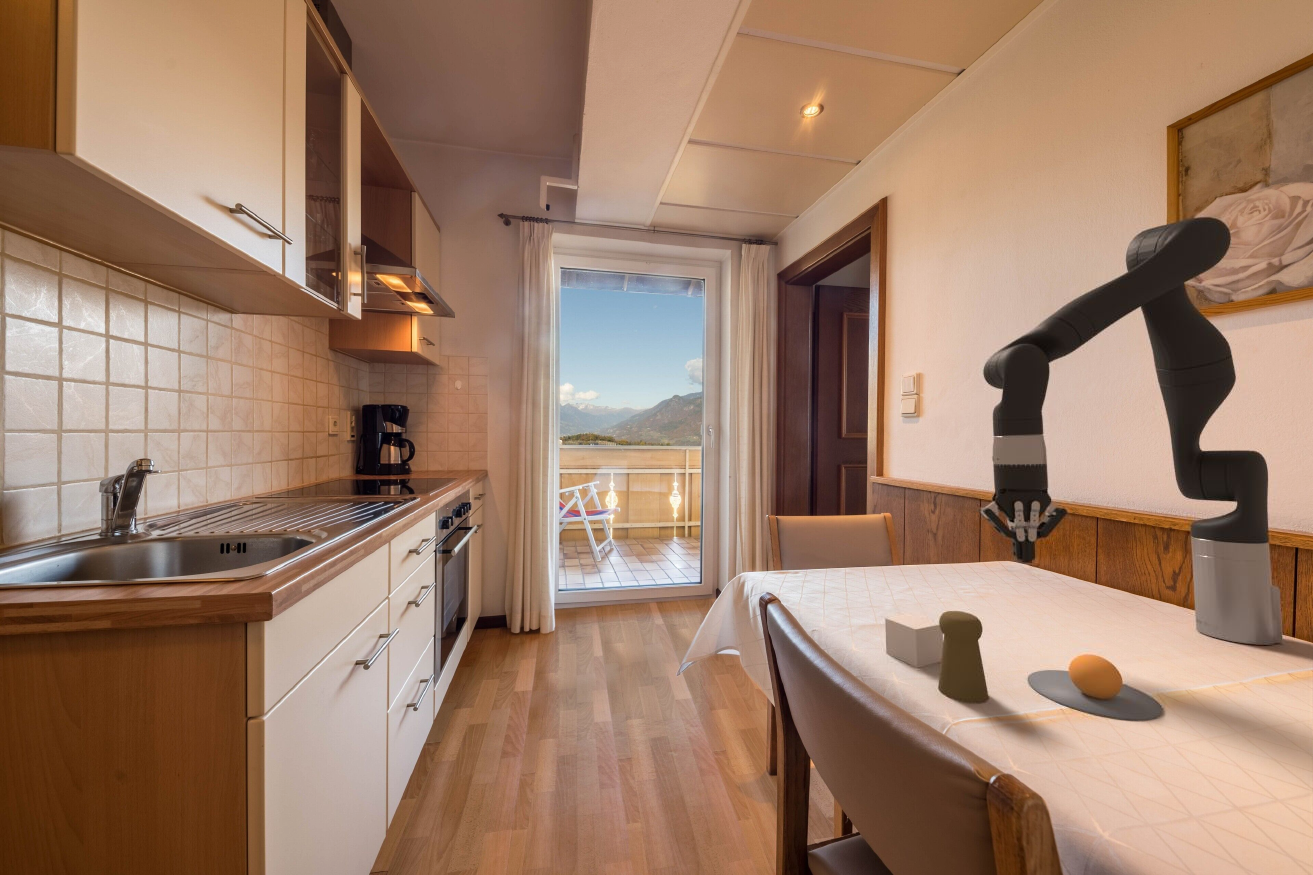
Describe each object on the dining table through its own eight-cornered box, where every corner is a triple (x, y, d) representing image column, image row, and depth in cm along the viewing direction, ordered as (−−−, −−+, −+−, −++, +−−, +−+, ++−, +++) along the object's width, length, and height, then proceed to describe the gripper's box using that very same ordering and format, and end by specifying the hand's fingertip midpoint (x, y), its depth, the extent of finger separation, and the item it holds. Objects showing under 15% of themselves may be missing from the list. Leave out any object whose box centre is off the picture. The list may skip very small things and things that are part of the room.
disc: (1115, 675, 74) (1115, 674, 74) (1194, 725, 60) (1194, 723, 60) (1009, 667, 77) (1009, 666, 77) (1061, 714, 63) (1061, 712, 63)
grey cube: (886, 654, 83) (884, 617, 83) (912, 648, 85) (910, 613, 86) (917, 667, 77) (915, 629, 78) (944, 661, 80) (942, 623, 80)
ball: (1100, 673, 70) (1106, 644, 68) (1129, 707, 65) (1136, 677, 63) (1057, 674, 71) (1061, 646, 69) (1082, 708, 66) (1088, 679, 64)
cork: (997, 705, 65) (993, 621, 66) (947, 701, 67) (944, 619, 67) (977, 684, 71) (974, 607, 72) (931, 681, 73) (929, 605, 73)
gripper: (985, 463, 83) (990, 566, 83) (1076, 461, 80) (1082, 568, 80) (968, 462, 91) (972, 556, 90) (1051, 460, 88) (1056, 558, 87)
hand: (1024, 561), depth 85 cm, fingers closed
